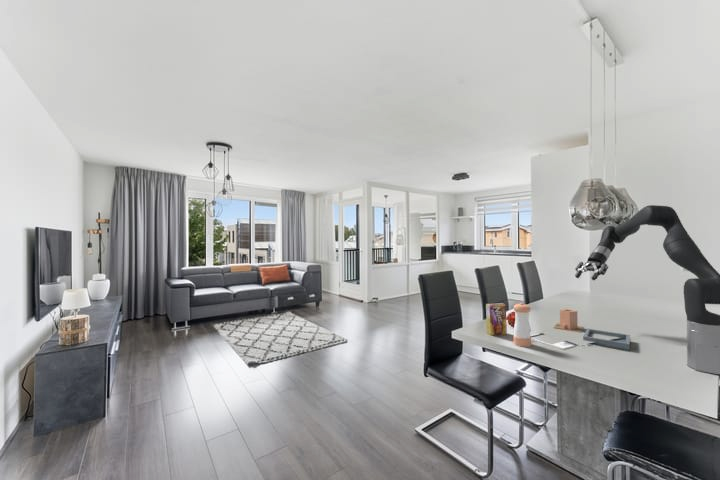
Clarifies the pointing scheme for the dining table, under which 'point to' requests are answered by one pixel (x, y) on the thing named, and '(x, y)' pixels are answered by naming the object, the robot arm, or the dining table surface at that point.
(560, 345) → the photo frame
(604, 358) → the dining table surface
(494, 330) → the candy box
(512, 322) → the dragon fruit
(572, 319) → the orange-brown box
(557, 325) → the post stand
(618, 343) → the tray
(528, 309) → the pepper shaker
